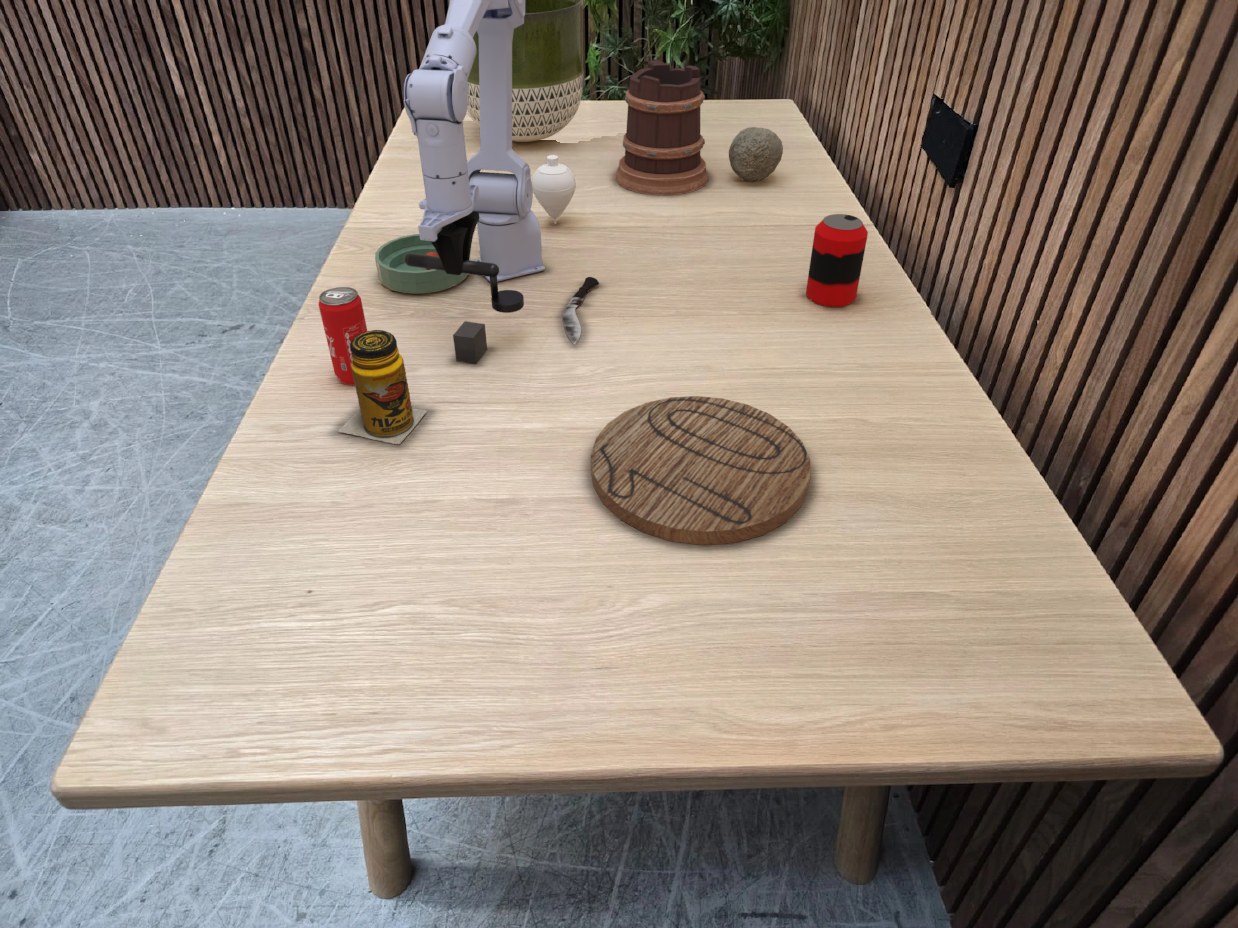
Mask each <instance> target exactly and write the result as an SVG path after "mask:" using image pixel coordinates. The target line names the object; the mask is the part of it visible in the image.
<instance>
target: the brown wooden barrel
mask: <svg viewBox="0 0 1238 928" xmlns="http://www.w3.org/2000/svg"><path fill="white" fill-rule="evenodd" d="M628 83H629V85H628V89H627V90H626V92H625V97H624V101H625V103H626V104H627V115H626V130H625V131H626V133H624V134H623V139H622V147H623V148H624V155H623V156H622V157H621V158H620V159H619V160H618V167H617V170H616V171H615V181H616V182H617V184H618V185H619V186H620V187H623V188H625V189H627V190H630V191H633V192H636V193H639V194H645V195H652V196H673V195H681V194H682V195H683V194H687V193H691V192H695V191H697V190H700V189H702V188H703V187H705V186H706V185H707V183H708V182H709V181H710V180H709V172H708V170H707V161H706V160H705V159H703V157H702V156H701V150H702V149H703V148H704V145H705V144H706V141H705V138H704V135H702V134H701V105H702V104H704V101H705V100H706V96H705V94H704V92H703V91H702V90H701V69H700V68H699V67H698V66H697V65H696V66H695V65H687V66H684V68H682V67H677V68H672V67H671V63H669V62H664V61H662V60H660V59H659V60H657V59H653V60H650V61H649V62H648V63H647V67H645V68H640V69H639V70H637V71H636V72H634V73H632V74H631V75H630V76H629V82H628Z"/></svg>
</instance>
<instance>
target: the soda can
mask: <svg viewBox="0 0 1238 928" xmlns="http://www.w3.org/2000/svg"><path fill="white" fill-rule="evenodd" d="M868 236H869V232H868V229H867V228H866V226H865V225H864V222H863V220H861V219H860V218H859V217H857V216H854V215H850V214H847V213H834V214H828V215H826V216H824V218H822V219H821V221H820V222H819V223H818V224H817V225H816V226H815V228H814V233H813V240H812V246H811V255H810V261H809V269H808V275H807V282H806V290H805V294H806V296H807V297H808V299H809V300H810V301H811V302H813V303H814V304H816V305H819V306H822V307H826V308H842V307H847V306H849V305H851V304H852V303H853V302H854V301H856V299H857V295H858V290H859V283H860V278H861V273H862V269H863V268H862V267H863V263H864V257H865V253H866V252H865V251H866V246H867V241H868Z"/></svg>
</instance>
